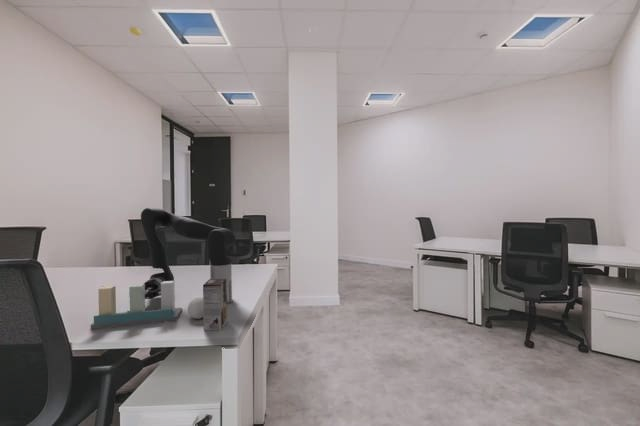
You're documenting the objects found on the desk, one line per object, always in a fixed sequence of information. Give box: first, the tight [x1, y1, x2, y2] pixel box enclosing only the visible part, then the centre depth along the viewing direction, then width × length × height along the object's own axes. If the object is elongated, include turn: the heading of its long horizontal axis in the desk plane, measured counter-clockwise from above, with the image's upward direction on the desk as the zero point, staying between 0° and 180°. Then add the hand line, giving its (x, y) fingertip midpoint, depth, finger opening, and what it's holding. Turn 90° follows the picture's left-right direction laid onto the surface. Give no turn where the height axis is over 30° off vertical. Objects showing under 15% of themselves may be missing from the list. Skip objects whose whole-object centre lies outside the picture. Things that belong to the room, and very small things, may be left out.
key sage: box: [128, 283, 146, 313], centre depth 115 cm, size 4×4×12 cm
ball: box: [187, 296, 204, 320], centre depth 118 cm, size 8×8×8 cm
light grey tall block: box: [160, 280, 176, 312], centre depth 120 cm, size 4×4×12 cm
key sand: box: [98, 285, 117, 315], centre depth 113 cm, size 4×4×12 cm
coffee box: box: [202, 278, 228, 332], centre depth 110 cm, size 9×6×16 cm
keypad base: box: [90, 307, 183, 330], centre depth 118 cm, size 28×12×4 cm, turn 104°
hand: (139, 298), depth 117 cm, fingers closed
